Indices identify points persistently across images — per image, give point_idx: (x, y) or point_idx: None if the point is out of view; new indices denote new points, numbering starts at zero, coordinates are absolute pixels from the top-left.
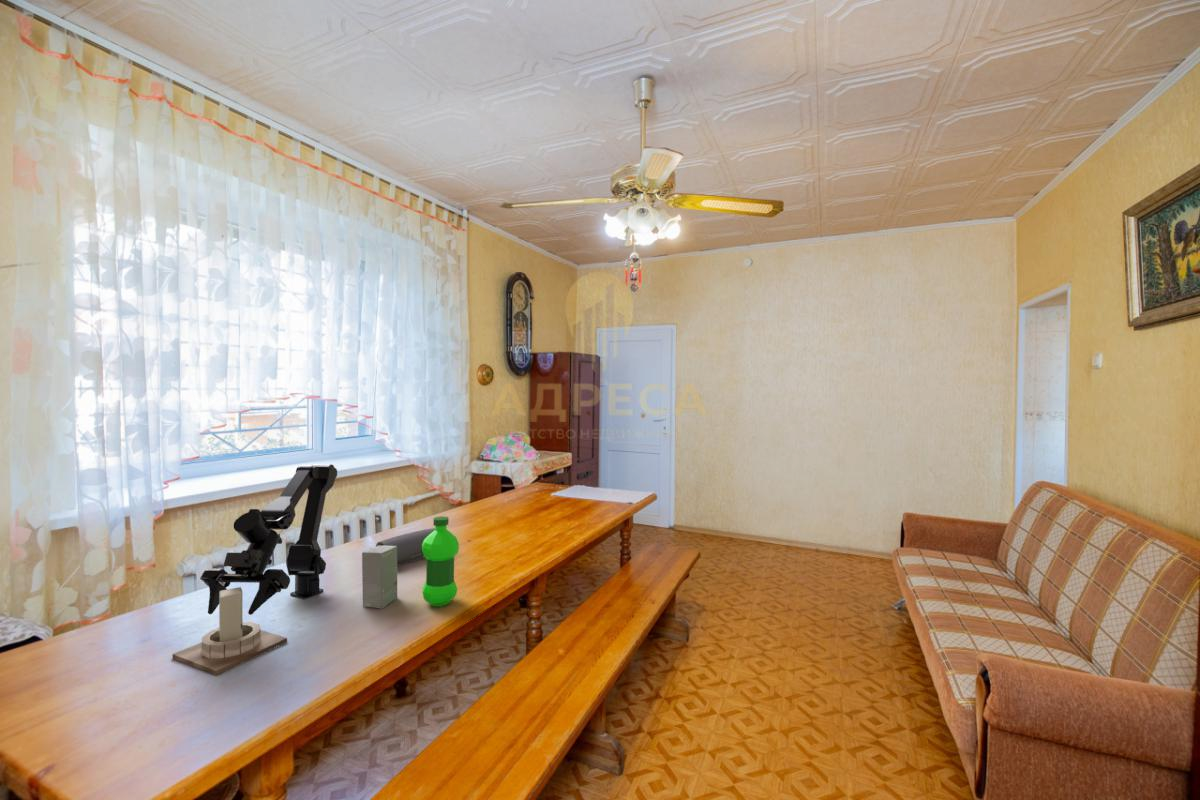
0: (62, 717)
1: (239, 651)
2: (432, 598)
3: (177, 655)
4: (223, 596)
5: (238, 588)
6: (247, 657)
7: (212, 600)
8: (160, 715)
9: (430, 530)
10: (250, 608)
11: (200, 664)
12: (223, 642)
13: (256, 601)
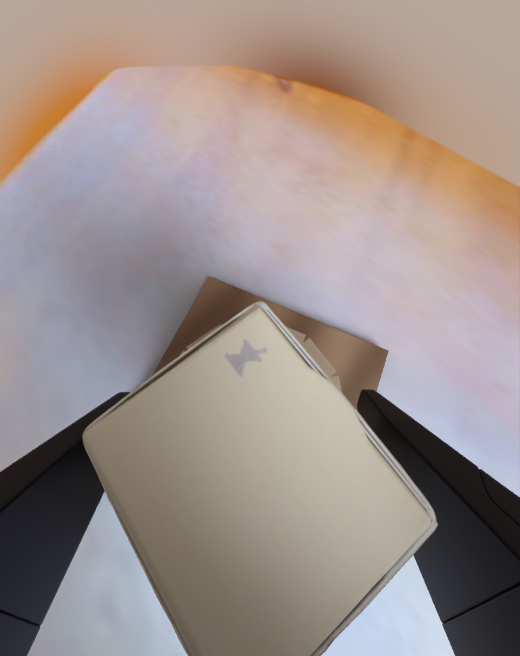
0: (385, 163)
1: None
2: None
3: (367, 344)
4: (242, 317)
5: (223, 639)
6: (172, 344)
7: (422, 447)
8: (226, 170)
9: None
10: (106, 407)
11: (268, 301)
12: None
13: (37, 447)
